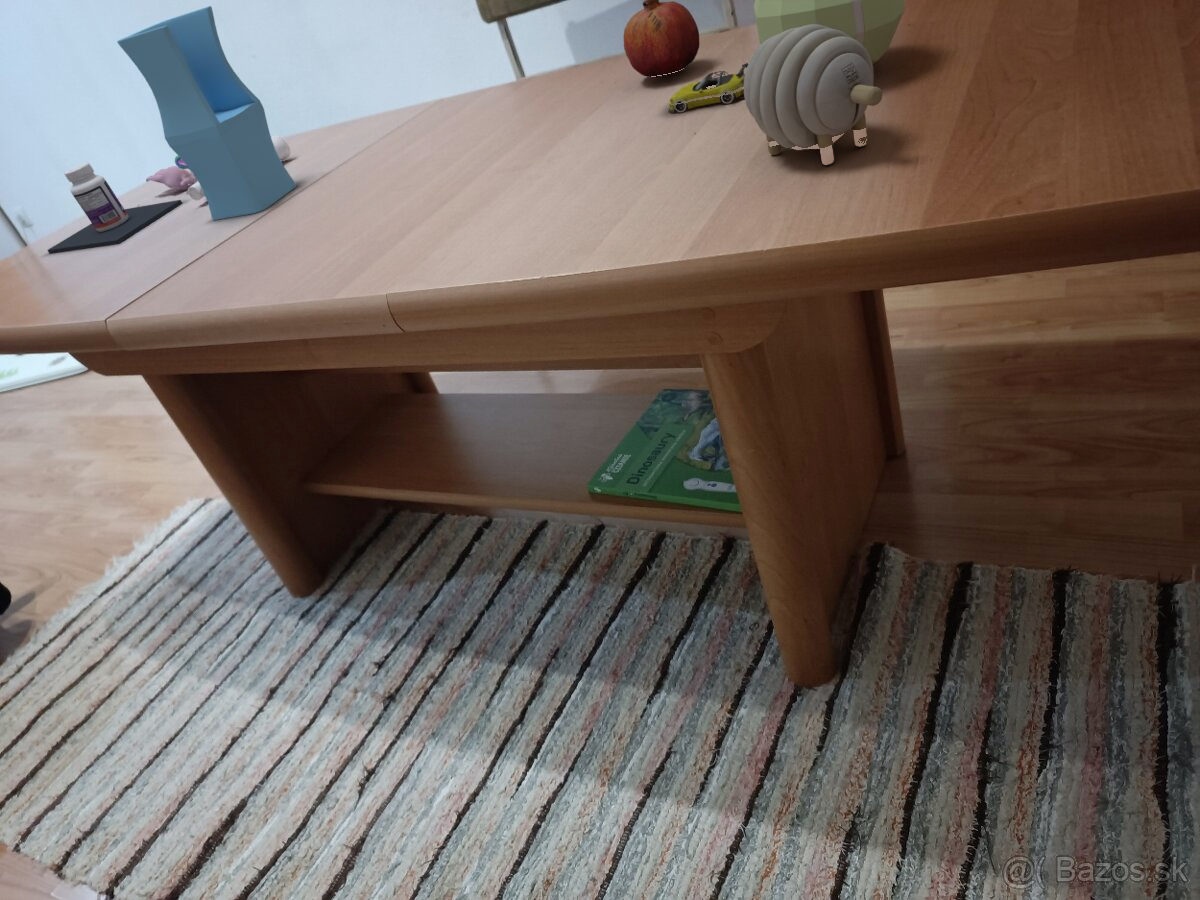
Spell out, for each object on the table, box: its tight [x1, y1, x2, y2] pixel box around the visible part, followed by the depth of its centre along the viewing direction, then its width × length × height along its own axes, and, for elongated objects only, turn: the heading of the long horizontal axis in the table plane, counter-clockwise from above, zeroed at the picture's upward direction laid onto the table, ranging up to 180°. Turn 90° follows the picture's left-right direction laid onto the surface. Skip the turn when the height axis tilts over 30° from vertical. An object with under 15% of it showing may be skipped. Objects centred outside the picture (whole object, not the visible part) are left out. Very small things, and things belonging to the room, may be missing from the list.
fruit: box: [622, 0, 700, 79], centre depth 115 cm, size 11×10×10 cm
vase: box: [116, 5, 298, 221], centre depth 122 cm, size 10×10×25 cm
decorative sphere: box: [753, 0, 906, 65], centre depth 93 cm, size 15×15×15 cm
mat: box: [46, 199, 183, 254], centre depth 142 cm, size 18×14×1 cm
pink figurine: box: [145, 155, 197, 191], centre depth 148 cm, size 6×6×15 cm
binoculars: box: [187, 134, 291, 201], centre depth 140 cm, size 10×16×5 cm, turn 163°
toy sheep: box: [740, 24, 883, 156], centre depth 79 cm, size 11×17×11 cm, turn 35°
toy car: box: [667, 62, 749, 114], centre depth 103 cm, size 5×10×3 cm, turn 71°
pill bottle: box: [63, 162, 129, 232], centre depth 138 cm, size 5×5×10 cm
